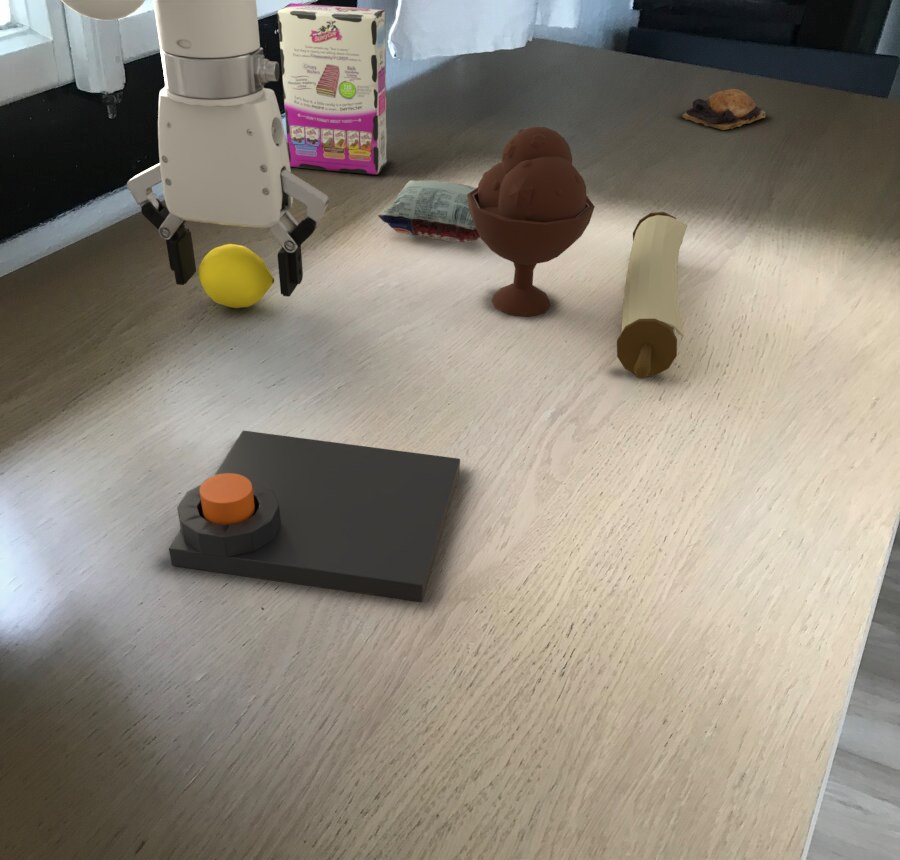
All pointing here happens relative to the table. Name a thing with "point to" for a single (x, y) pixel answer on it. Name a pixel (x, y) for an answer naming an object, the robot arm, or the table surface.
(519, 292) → the ice cream bowl
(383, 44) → the candy bar box
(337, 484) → the scale
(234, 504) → the tare button
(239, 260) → the lemon
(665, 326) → the scroll
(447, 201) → the packaged food
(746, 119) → the chocolate marshmallow cracker
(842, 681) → the table surface
